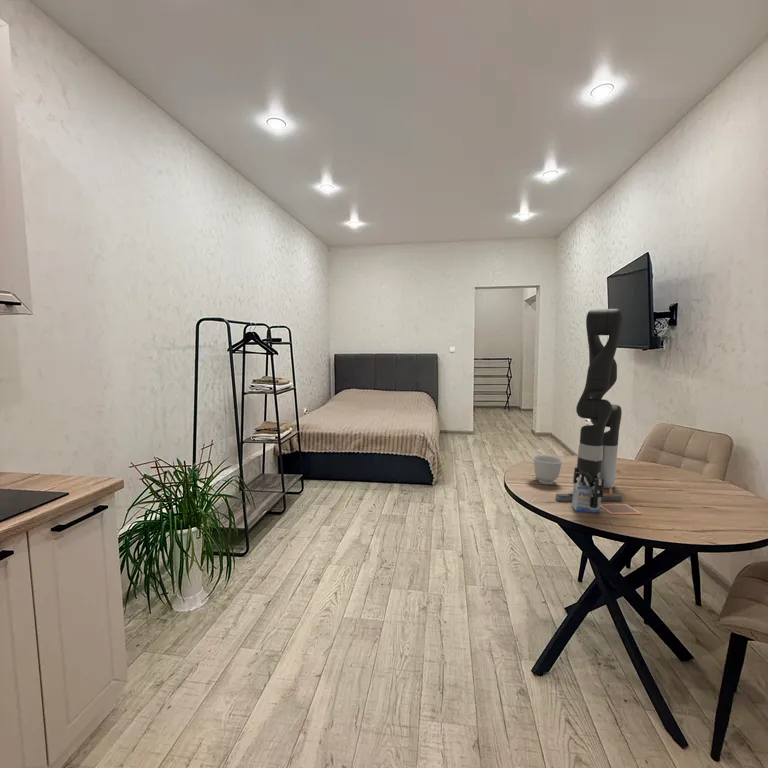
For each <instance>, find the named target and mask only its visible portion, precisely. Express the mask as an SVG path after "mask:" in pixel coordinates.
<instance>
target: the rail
mask: <svg viewBox="0 0 768 768" xmlns="http://www.w3.org/2000/svg"><path fill="white" fill-rule="evenodd" d="M608 492H609V493H603V497H601V502H623V499H622V498H623V495H621V494H620V493H613V488H609V491H608ZM555 500H556V501H558V502H572V501H573V493H555Z"/></svg>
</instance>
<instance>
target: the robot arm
mask: <svg viewBox="0 0 768 768" xmlns="http://www.w3.org/2000/svg"><path fill="white" fill-rule="evenodd" d="M585 325H586V326H585V327H586V335H587V337H586V338H587V342H588V344H587V345H588V356H589V361H588V363H589V366H588V368H587V371H586V372H587V373H586V379H585V381H586V382H585V385H584V388H583V391H582V394H581V396H580V397H579V399H578V402H577V404H576V408H575V411H576V414H577V416H578V417H579V418H581V419H587V420H588V419H589V420H590V422H591V424H587V425H583V426H582V427H580V435H579V445H578V449H577V450H578V451H577V462H576V467H574V469H573V470H574V472H573V481H572V482H573V484H574V483H576V484H584V485H586V486H587V489H588V490H589V491H590V495H591V496H590V507H591V508H596V507H597V502H598V497H603V494H604V489H610V488H612V489H613V488H614V487H615V481H616V471H617V462H618V461H617V460H618V449H619V447H618V446H619V435H620V427H621V420H622V408H621V406H620V405H618V404H612V403H611V402H610V400H608V399H604V398H603V397H604V396H605V394H607V393H608V392H609V390H611V388H612V387H613V386H614V385H615V383H617V379H618V366H617V365H618V364H617V362H616V360H615V355H616V351H617V348H618V345H619V344H618V343H619V341H620V340H619V339H620V337H621V332H622V329H623V312H622V310H621V309H619V308H594V309H591V310H590V309H589V310H588V312H587V314H586V318H585ZM600 336H608V339H607V341H606V343H605V345H603V343H602V340H601V339H600ZM606 428H610V429H609V430H607V431H605V429H606ZM593 486H594V487H593ZM593 490H594V493H593ZM598 490H600V493H599V491H598Z"/></svg>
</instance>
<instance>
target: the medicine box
mask: <svg viewBox="0 0 768 768" xmlns="http://www.w3.org/2000/svg"><path fill="white" fill-rule="evenodd" d="M572 487H573V488H572V489H573V490H572V494H573V501H571V506H572V508H573V510H575V512H579V513H580V512H582V513H594V514H600V512H601V507H600V504H602V503H601V502H602V501H601V497H598V502H597V507H596V508H591V507H590V496H591V495H590V491H589V490H588V489H587V486H586V485H584V484H576V483H573V486H572ZM593 487H594V486H593ZM598 491H599V493H600V490H598ZM593 493H594V490H593Z"/></svg>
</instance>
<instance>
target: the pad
mask: <svg viewBox="0 0 768 768" xmlns="http://www.w3.org/2000/svg"><path fill="white" fill-rule="evenodd" d="M600 509H602V510H603V511H605V512H606V513H607V514H609V515H643V513H642V512H640V511H639V510H637V509H635V508H634V507H632V506H631V505H629V504H627V503H625V504H624V503H623V504H622V503H601V504H600Z"/></svg>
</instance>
